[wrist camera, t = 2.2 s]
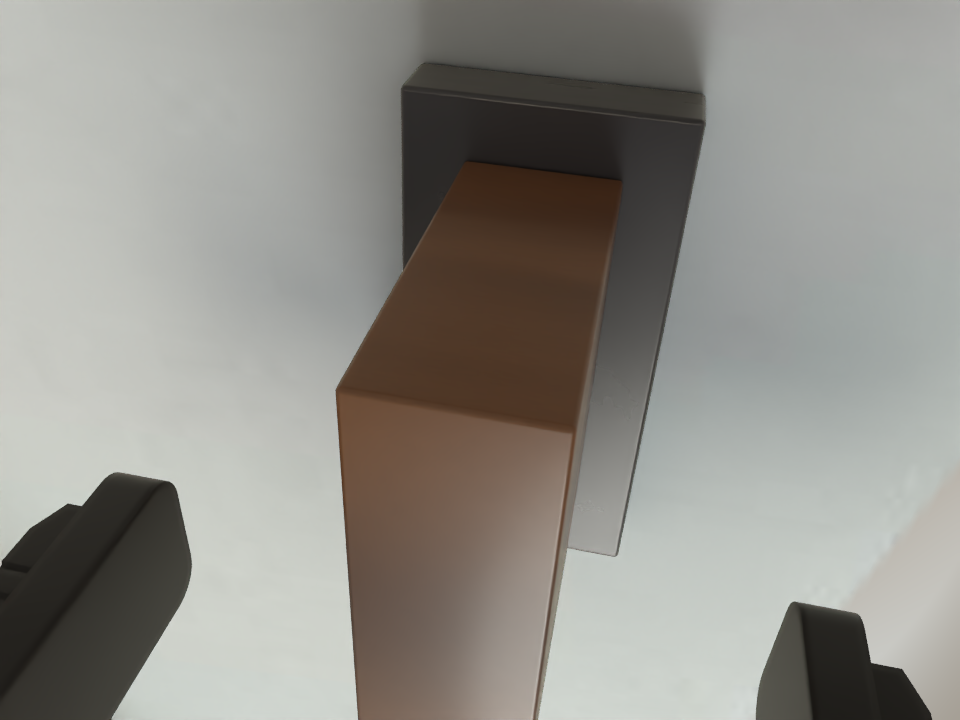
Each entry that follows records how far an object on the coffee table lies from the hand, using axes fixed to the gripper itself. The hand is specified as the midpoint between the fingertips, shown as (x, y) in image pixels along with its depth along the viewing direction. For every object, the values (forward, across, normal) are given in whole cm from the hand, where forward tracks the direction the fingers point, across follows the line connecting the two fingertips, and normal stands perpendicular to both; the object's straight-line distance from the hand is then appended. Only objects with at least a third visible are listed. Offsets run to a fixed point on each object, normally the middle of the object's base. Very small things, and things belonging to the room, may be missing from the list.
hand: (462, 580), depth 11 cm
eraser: (+6, 0, 0) cm, 6 cm away
